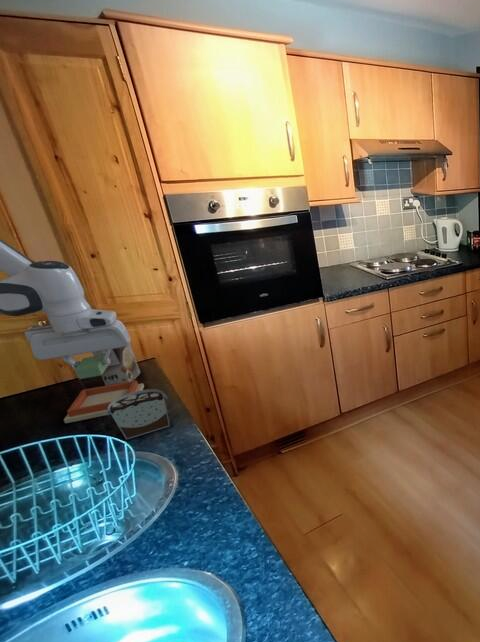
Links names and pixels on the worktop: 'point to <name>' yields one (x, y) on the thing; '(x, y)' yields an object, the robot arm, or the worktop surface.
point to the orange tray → (98, 400)
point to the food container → (140, 412)
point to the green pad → (90, 367)
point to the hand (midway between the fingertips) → (92, 366)
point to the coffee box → (120, 366)
